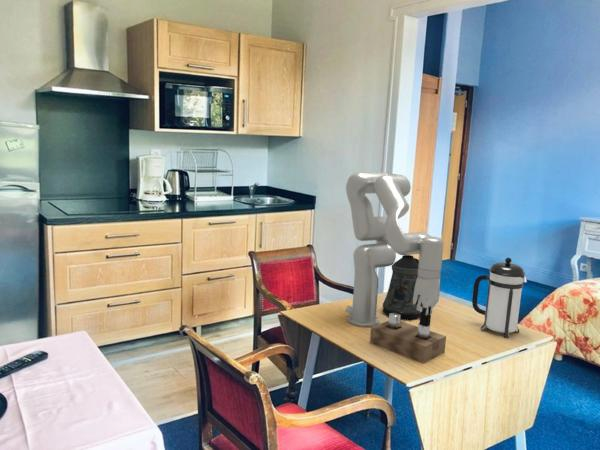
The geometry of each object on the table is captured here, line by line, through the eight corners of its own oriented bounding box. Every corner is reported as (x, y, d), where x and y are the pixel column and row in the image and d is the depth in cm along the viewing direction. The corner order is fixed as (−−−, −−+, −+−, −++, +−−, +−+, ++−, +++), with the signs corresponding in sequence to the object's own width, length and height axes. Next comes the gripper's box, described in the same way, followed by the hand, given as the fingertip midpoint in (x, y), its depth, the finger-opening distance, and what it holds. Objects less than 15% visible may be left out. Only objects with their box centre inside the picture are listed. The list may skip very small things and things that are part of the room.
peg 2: (414, 339, 177) (416, 324, 176) (420, 336, 180) (422, 321, 179) (424, 343, 174) (426, 327, 173) (430, 340, 177) (432, 325, 176)
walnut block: (369, 343, 184) (371, 327, 183) (391, 333, 194) (393, 318, 193) (423, 363, 169) (425, 346, 168) (444, 352, 179) (446, 336, 178)
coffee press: (512, 325, 210) (521, 254, 205) (525, 340, 194) (535, 263, 189) (469, 321, 212) (477, 251, 207) (478, 336, 196) (487, 260, 191)
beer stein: (379, 317, 212) (384, 258, 208) (385, 303, 230) (390, 249, 226) (420, 323, 208) (425, 263, 203) (423, 308, 226) (428, 253, 222)
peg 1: (385, 329, 185) (387, 314, 184) (392, 326, 188) (393, 312, 187) (395, 332, 182) (396, 317, 181) (401, 329, 185) (402, 315, 184)
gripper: (430, 267, 181) (426, 317, 184) (407, 274, 170) (403, 326, 173) (450, 272, 176) (445, 323, 179) (427, 279, 165) (422, 333, 168)
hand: (424, 324), depth 176 cm, fingers closed
